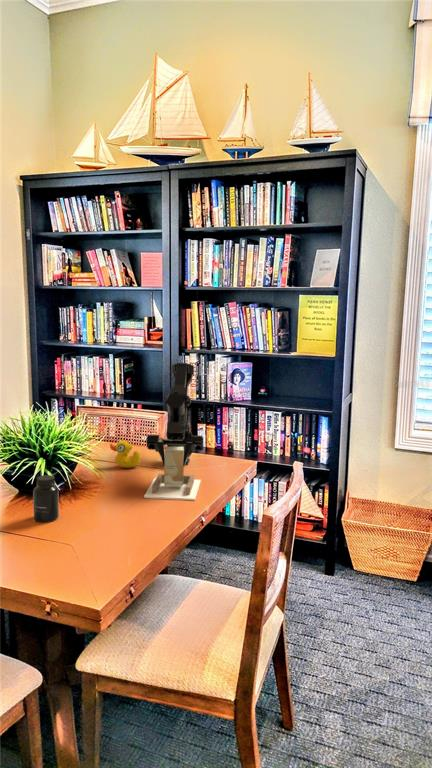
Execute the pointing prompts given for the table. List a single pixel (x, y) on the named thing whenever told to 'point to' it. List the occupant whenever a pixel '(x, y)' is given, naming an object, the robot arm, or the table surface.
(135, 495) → the table surface
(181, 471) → the skincare box
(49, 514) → the supplement bottle
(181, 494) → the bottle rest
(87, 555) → the table surface
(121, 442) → the duckling
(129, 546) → the table surface
